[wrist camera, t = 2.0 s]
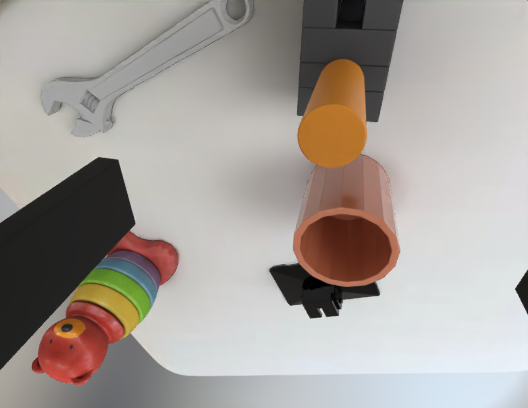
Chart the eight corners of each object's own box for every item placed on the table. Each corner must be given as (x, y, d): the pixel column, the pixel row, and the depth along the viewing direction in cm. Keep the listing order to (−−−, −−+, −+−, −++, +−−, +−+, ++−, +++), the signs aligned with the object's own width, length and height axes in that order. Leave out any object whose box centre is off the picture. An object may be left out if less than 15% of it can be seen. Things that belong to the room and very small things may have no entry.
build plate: (290, 303, 46) (283, 331, 42) (268, 266, 43) (259, 293, 39) (380, 293, 41) (382, 325, 37) (363, 250, 38) (363, 280, 34)
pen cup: (311, 148, 32) (296, 201, 24) (398, 157, 30) (411, 216, 23) (305, 215, 37) (290, 277, 29) (380, 226, 35) (386, 294, 28)
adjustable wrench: (245, -21, 26) (239, -21, 24) (275, 61, 29) (270, 66, 27) (43, 87, 35) (30, 91, 34) (80, 140, 38) (70, 146, 37)
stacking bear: (180, 245, 44) (95, 371, 30) (176, 291, 51) (104, 413, 36) (107, 221, 45) (-9, 332, 31) (112, 268, 51) (18, 380, 37)
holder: (320, -116, 21) (312, -137, 17) (419, -121, 20) (433, -145, 16) (305, 97, 29) (296, 115, 25) (375, 102, 28) (377, 122, 24)
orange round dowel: (328, 42, 27) (299, 101, 14) (366, 43, 26) (372, 106, 13) (324, 80, 28) (295, 164, 15) (359, 82, 28) (360, 171, 15)
